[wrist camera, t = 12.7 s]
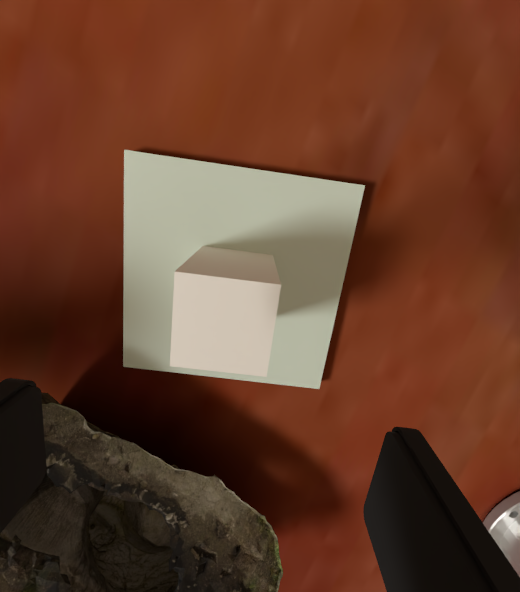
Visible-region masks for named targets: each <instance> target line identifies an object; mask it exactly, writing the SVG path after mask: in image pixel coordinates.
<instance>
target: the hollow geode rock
mask: <svg viewBox="0 0 520 592" xmlns="http://www.w3.org/2000/svg"><path fill="white" fill-rule="evenodd" d="M41 397H42V411H43V425H44V438H45V452H46V466H47V468H46V474H45V476H44V478H43V480H42V482H41V483H40V485H39V486H38V487H37V489H36V490H35V491H34V492H33V494H32V495H31V496H30V497H29V499H28V500H27V501H26V502H25V504H24V505H23V506H22V507H21V509H20V510H19V511H18V512H17V514H16V515H15V516H14V517H13V519H12V520H11V521H10V522H9V524H8V525H7V526H6V527H5V529H4V530H3V531H2V532H1V533H0V592H278V589H279V584H280V580H281V578H282V576H283V570H282V566H281V560H280V556H279V545H278V540H277V536H276V534H275V533H274V531H273V528H272V526H271V525H270V524H269V523H268V522H267V521H266V518H265V516H264V515H261V514H260V513H258V512H257V511H256V510H255V509H254V508H252V507H251V506H249V505H248V504H247V503H245V502H243V501H242V500H241V499H240V498H239V497H238V496H237V495H236V494H235V493H234V492H233V491H231V490H229V489H228V488H227V487H226V486H225V485H224V483H223V482H222V481H221V480H220V479H219V478H218V477H217V476H216V475H213V476H210V477H205V476H203V475H200V474H197V473H195V472H192V471H188V470H181V469H179V468H178V467H177V466H176V465H175V464H174V465H171V466H170V465H168V464H167V463H165V462H164V461H163V460H162V459H160V458H158V457H157V456H154V455H151V454H150V453H148V452H146V451H145V450H143V449H142V448H140V447H139V446H138V445H136V444H135V443H132V442H129V441H126V440H123V439H121V438H119V436H117V435H114V434H111V433H109V432H106V431H103V430H101V429H100V428H99V427H97V426H95V425H93V424H91V423H89V422H87V421H86V420H85V418H84V417H83V416H82V415H81V414H80V413H79V412H78V411H76V410H73V409H71V408H68V407H65V406H62V405H60V404H59V403H58V402H57V401H56V400H55V399H54V398H53V397H51V396H50V395H49V394H48V393H41Z"/></svg>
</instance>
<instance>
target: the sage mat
mask: <svg viewBox="0 0 520 592" xmlns="http://www.w3.org/2000/svg"><path fill="white" fill-rule="evenodd" d="M364 188H365V185H359V184H352V183H345V182H339V181H332V180H325V179H318V178H312V177H305V176H298V175H291V174H285V173H278V172H271V171H264V170H258V169H251V168H244V167H237V166H231V165H224V164H217V163H210V162H204V161H197V160H190V159H183V158H177V157H170V156H163V155H156V154H149V153H143V152H136V151H129V150H124V297H123V367H130V368H139V369H148V370H156V371H165V372H174V373H183V374H192V375H201V376H209V377H218V378H227V379H236V380H245V381H254V382H262V383H271V384H280V385H289V386H298V387H307V388H315V389H319V388H320V384H321V379H322V375H323V370H324V366H325V362H326V357H327V353H328V348H329V344H330V339H331V335H332V330H333V326H334V322H335V317H336V313H337V308H338V304H339V299H340V295H341V290H342V286H343V282H344V277H345V273H346V268H347V264H348V259H349V255H350V250H351V246H352V242H353V237H354V233H355V228H356V224H357V219H358V215H359V210H360V206H361V202H362V197H363V193H364ZM202 246H208V247H216V248H224V249H231V250H239V251H247V252H255V253H262V254H270V255H273V257H274V261H275V264H276V268H277V271H278V275H279V279H280V282H281V290H280V296H279V302H278V308H277V315H276V321H275V327H274V334H273V340H272V346H271V353H270V359H269V365H268V371H267V377H263V376H254V375H245V374H235V373H226V372H217V371H208V370H199V369H190V368H181V367H172V366H170V351H171V332H172V312H173V292H174V273H175V271H176V270H177V269H178V268H179V267H180V266H181V265H182V264H183V263H184V262H186V261H187V260H188V259H189V258H190V257H191V256H192V255H193V254H194V253H196V252H197V251H198V250H199V249H200V248H201V247H202Z"/></svg>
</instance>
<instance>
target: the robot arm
mask: <svg viewBox="0 0 520 592" xmlns="http://www.w3.org/2000/svg"><path fill="white" fill-rule="evenodd" d="M46 468H47V466H46V452H45V438H44V425H43V411H42V397H41V390H40V389H39V388H37V387H36V384H35V383H34V382H33V381H29V380H21V379H13V378H8V379H5V380H3V381H2V382H0V533H1V532H2V531H3V530H4V529H5V527H6V526H7V525H8V524H9V522H10V521H11V520H12V519H13V517H14V516H15V515H16V514H17V512H18V511H19V510H20V509H21V507H22V506H23V505H24V504H25V502H26V501H27V500H28V499H29V497H30V496H31V495H32V494H33V492H34V491H35V490H36V489H37V487H38V486H39V485H40V483H41V482H42V480H43V478H44V476H45V474H46ZM364 520H365V523H366V527H367V530H368V533H369V536H370V539H371V542H372V546H373V549H374V552H375V555H376V558H377V561H378V565H379V568H380V571H381V574H382V577H383V580H384V583H385V587H386V590H387V592H520V491H519V492H516V493H514V494H512V495H511V496H509V497H507V498H506V499H504V500H503V501H502V502H500V503H499V504H498V505H497V506H495V507H494V508H493V510H492V511H491V512H490V513H489V514H488V515H487V517H486V518H485V520H484V522H483V523H482V521H481V520H480V518H479V517H478V515H477V514H476V513H475V511H474V510H473V508H472V507H471V505H470V504H469V502H468V501H467V499H466V498H465V496H464V495H463V494H462V492H461V491H460V489H459V488H458V486H457V485H456V483H455V482H454V480H453V479H452V477H451V476H450V475H449V473H448V472H447V470H446V469H445V467H444V466H443V464H442V463H441V461H440V460H439V459H438V457H437V456H436V454H435V453H434V451H433V450H432V448H431V447H430V445H429V444H428V442H427V441H426V440H425V438H424V437H423V435H422V434H421V432H420V431H419V430H417V429H410V428H402V427H394V428H393V430H392V432H387V433H386V435H385V438H384V442H383V445H382V448H381V452H380V455H379V458H378V461H377V465H376V468H375V471H374V475H373V478H372V481H371V485H370V488H369V491H368V494H367V498H366V501H365V504H364Z"/></svg>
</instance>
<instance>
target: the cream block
mask: <svg viewBox="0 0 520 592" xmlns="http://www.w3.org/2000/svg"><path fill="white" fill-rule="evenodd" d="M280 290H281V282H280V279H279V275H278V271H277V268H276V264H275V261H274V257H273V255H270V254H262V253H255V252H247V251H239V250H231V249H224V248H216V247H208V246H202V247H201V248H200V249H199V250H198V251H197V252H196V253H194V254H193V255H192V256H191V257H190V258H189V259H188V260H187V261H186V262H184V263H183V264H182V265H181V266H180V267H179V268H178V269H177V270H176V271H175V273H174V292H173V312H172V332H171V351H170V366H172V367H181V368H190V369H199V370H208V371H217V372H226V373H235V374H245V375H254V376H263V377H267V371H268V365H269V359H270V353H271V346H272V340H273V334H274V327H275V321H276V315H277V308H278V302H279V296H280Z"/></svg>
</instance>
